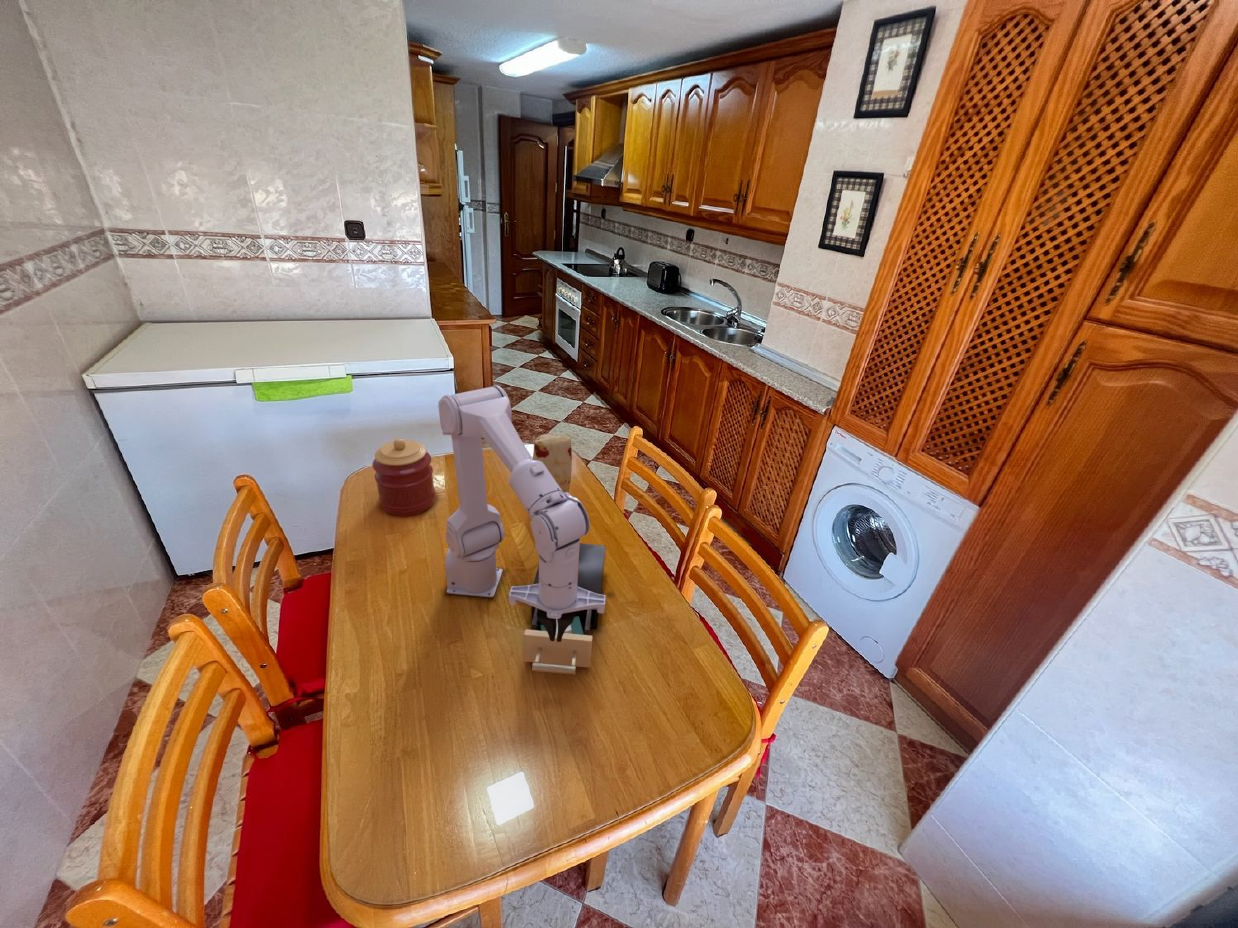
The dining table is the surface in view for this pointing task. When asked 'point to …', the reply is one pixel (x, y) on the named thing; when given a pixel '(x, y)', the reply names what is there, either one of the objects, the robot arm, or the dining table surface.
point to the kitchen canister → (404, 477)
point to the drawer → (559, 647)
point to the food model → (555, 457)
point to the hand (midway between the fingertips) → (556, 636)
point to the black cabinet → (588, 573)
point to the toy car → (570, 627)
